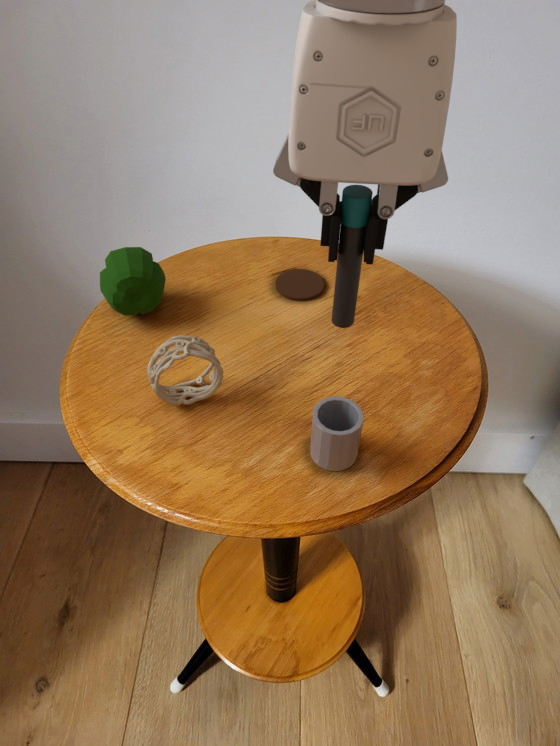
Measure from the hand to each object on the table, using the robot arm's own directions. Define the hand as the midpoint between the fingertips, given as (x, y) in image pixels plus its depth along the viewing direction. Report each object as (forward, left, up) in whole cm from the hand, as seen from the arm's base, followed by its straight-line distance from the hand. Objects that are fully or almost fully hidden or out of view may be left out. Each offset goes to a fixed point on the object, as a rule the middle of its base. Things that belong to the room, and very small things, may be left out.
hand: (350, 252), depth 45 cm
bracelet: (+16, -4, -23) cm, 29 cm away
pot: (-1, +2, -23) cm, 23 cm away
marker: (0, 0, -7) cm, 7 cm away
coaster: (+5, -27, -23) cm, 36 cm away
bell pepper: (+25, -15, -18) cm, 34 cm away
